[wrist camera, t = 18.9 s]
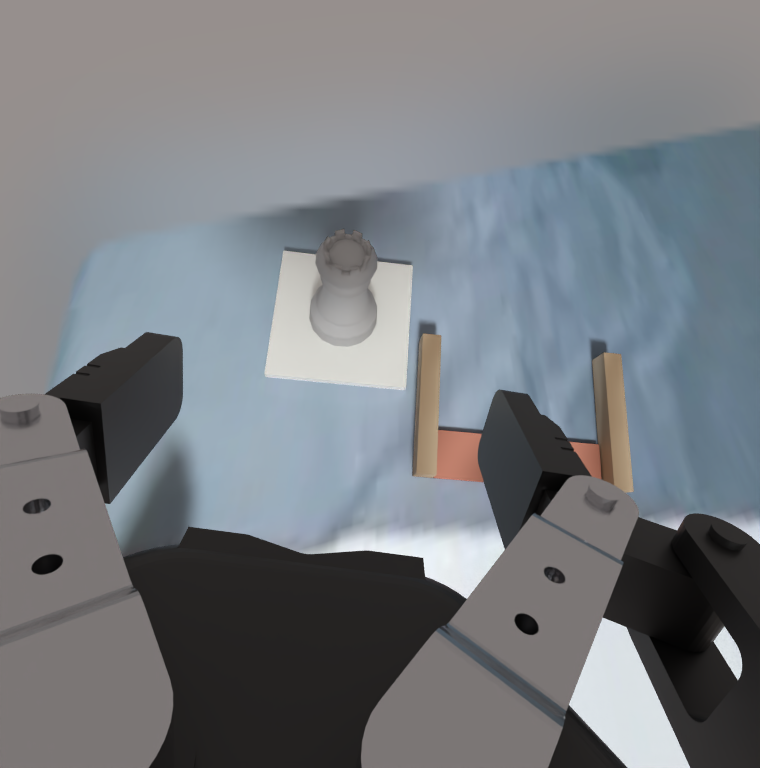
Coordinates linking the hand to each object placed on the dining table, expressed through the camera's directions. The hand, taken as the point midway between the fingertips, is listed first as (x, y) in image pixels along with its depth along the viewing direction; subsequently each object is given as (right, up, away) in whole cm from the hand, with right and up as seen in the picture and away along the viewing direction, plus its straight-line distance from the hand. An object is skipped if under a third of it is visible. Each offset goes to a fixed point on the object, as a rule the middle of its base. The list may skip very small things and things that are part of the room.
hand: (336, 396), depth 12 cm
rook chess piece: (-1, +5, +20) cm, 20 cm away
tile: (-1, +5, +20) cm, 21 cm away
